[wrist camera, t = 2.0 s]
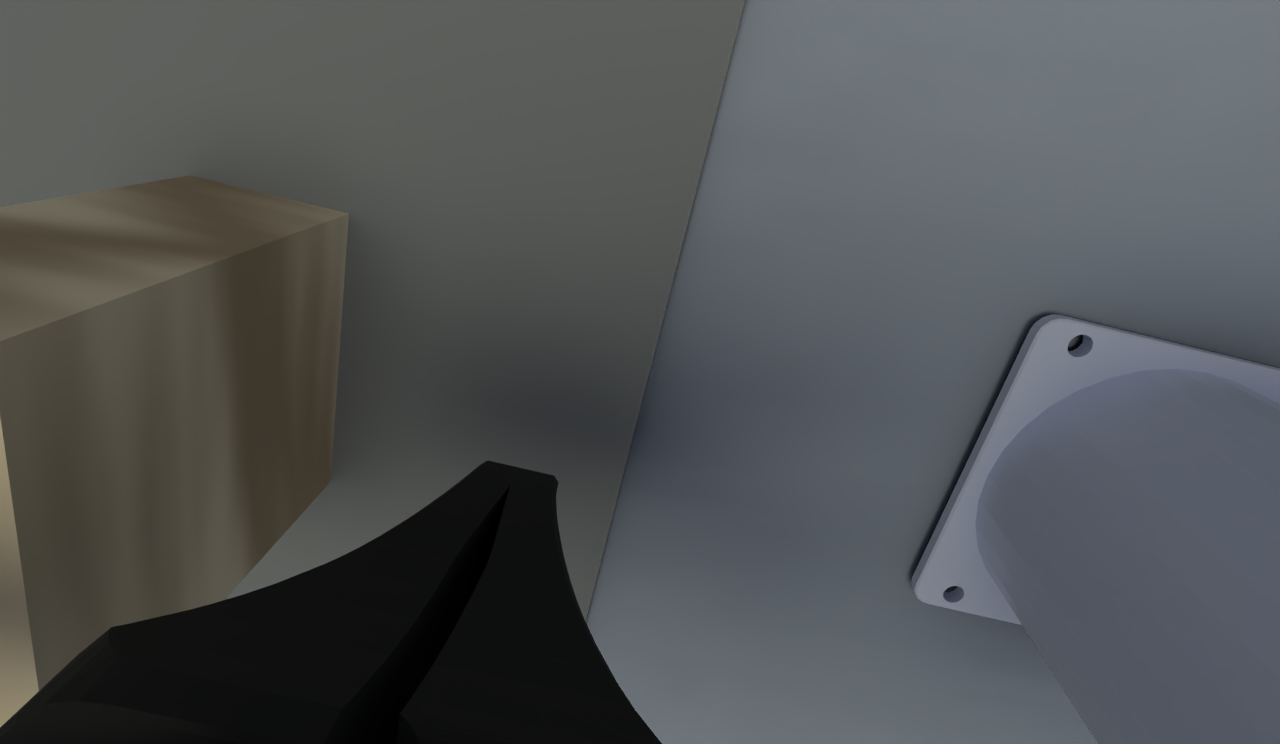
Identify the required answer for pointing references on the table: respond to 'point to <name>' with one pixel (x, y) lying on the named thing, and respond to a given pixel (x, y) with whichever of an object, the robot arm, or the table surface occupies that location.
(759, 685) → the table surface
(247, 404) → the beech block
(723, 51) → the rubber mat
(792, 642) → the table surface
